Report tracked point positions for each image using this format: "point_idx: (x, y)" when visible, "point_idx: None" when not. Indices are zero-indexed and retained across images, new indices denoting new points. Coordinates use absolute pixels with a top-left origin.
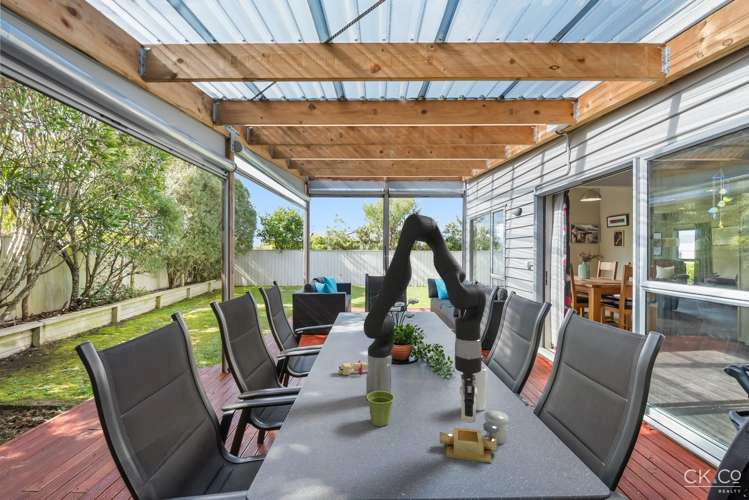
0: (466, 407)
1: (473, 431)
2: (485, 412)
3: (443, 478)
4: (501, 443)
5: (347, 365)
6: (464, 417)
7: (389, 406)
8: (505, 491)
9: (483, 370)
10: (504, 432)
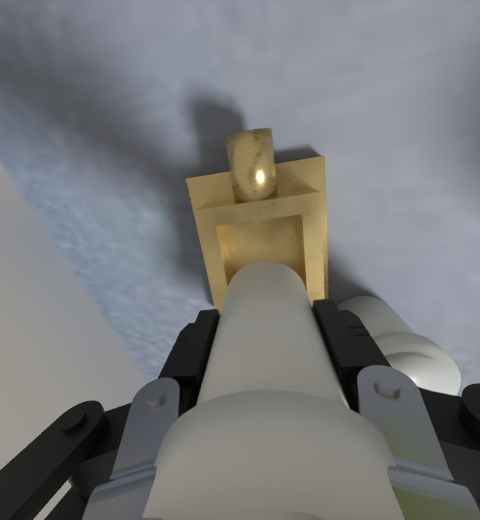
0: (165, 365)
1: (307, 279)
2: (432, 349)
3: (79, 186)
4: None
5: None
6: (227, 292)
7: None
8: (121, 333)
9: None
10: None
